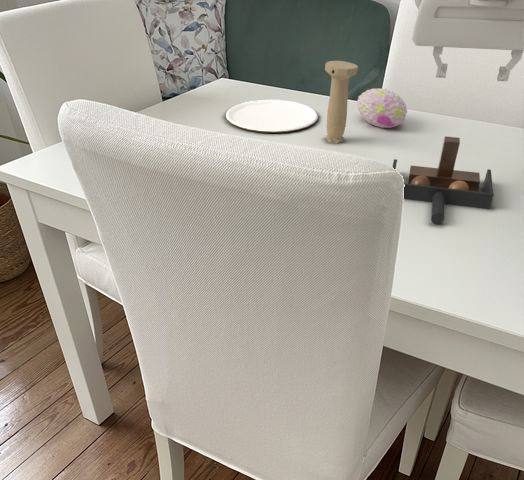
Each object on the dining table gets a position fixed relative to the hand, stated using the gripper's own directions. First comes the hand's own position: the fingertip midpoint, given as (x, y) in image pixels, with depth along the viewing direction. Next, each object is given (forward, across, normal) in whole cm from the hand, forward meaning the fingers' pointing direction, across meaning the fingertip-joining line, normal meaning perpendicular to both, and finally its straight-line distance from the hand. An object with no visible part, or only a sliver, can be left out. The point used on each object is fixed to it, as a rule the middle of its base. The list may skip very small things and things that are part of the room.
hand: (471, 78), depth 91 cm
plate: (+18, -39, +26) cm, 51 cm away
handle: (+18, -23, +16) cm, 34 cm away
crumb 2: (+17, +1, -5) cm, 17 cm away
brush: (+18, -1, -1) cm, 19 cm away
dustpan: (+18, -2, -6) cm, 20 cm away
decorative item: (+19, -15, +29) cm, 38 cm away
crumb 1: (+17, -5, -5) cm, 18 cm away
